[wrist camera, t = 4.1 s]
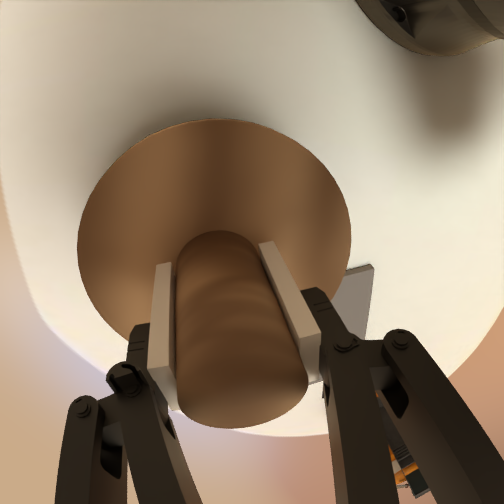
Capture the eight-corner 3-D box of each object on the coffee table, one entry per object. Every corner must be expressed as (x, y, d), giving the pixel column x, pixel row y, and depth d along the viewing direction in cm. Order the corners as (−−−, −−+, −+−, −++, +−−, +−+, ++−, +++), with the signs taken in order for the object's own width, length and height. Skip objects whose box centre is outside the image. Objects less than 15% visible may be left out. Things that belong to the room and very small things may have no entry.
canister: (350, 414, 46) (396, 512, 29) (332, 390, 40) (388, 510, 23) (396, 388, 45) (450, 480, 28) (387, 357, 40) (457, 470, 23)
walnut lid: (340, 102, 14) (476, 137, 7) (339, 325, 22) (395, 425, 14) (46, 161, 13) (-64, 247, 5) (134, 368, 20) (130, 483, 13)
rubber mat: (370, 264, 30) (374, 268, 30) (356, 364, 39) (359, 368, 38) (211, 301, 29) (212, 307, 28) (238, 397, 37) (239, 402, 36)
